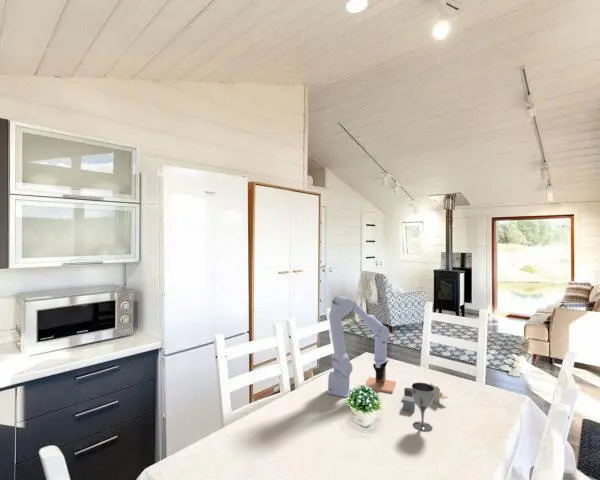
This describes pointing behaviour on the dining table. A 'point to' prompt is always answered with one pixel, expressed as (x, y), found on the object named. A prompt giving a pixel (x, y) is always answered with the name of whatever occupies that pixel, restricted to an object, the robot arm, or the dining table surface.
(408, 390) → the rubber cylinder
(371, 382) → the terracotta tile
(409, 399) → the grey cube
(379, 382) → the walnut block
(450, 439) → the dining table surface
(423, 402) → the wine glass
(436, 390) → the architectural model
